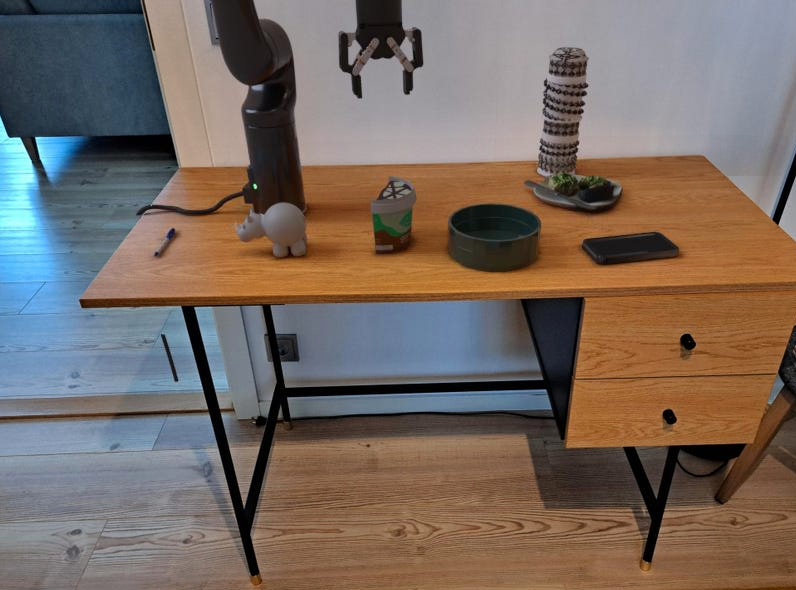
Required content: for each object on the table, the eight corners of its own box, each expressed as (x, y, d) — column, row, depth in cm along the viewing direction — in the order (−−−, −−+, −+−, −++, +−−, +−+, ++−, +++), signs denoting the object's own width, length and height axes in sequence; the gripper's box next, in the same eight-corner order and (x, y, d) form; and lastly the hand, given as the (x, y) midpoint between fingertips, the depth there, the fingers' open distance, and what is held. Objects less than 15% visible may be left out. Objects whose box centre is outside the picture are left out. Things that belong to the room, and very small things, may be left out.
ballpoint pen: (171, 231, 117) (170, 226, 117) (176, 231, 117) (175, 226, 117) (154, 257, 109) (152, 252, 108) (159, 257, 109) (158, 251, 108)
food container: (408, 260, 108) (407, 204, 102) (373, 257, 109) (370, 201, 103) (423, 230, 118) (423, 177, 112) (391, 228, 119) (389, 175, 113)
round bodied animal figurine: (243, 243, 114) (235, 197, 109) (311, 241, 114) (306, 195, 109) (236, 261, 108) (226, 214, 103) (307, 260, 108) (301, 212, 103)
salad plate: (509, 203, 128) (511, 180, 126) (538, 175, 141) (540, 154, 139) (605, 220, 121) (609, 197, 119) (626, 189, 134) (630, 168, 132)
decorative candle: (544, 180, 139) (557, 55, 124) (529, 166, 146) (540, 46, 131) (583, 177, 140) (601, 52, 126) (566, 163, 148) (581, 44, 133)
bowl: (443, 269, 105) (443, 238, 102) (452, 230, 118) (452, 201, 115) (538, 274, 104) (542, 243, 101) (537, 234, 117) (540, 205, 113)
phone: (580, 239, 112) (658, 231, 114) (579, 245, 113) (657, 236, 115) (599, 259, 106) (682, 250, 108) (598, 265, 106) (680, 256, 109)
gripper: (414, -14, 108) (416, 88, 117) (330, -11, 105) (339, 93, 114) (426, -10, 102) (427, 98, 111) (337, -6, 99) (346, 104, 108)
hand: (383, 95), depth 113 cm, fingers open, 8 cm apart
